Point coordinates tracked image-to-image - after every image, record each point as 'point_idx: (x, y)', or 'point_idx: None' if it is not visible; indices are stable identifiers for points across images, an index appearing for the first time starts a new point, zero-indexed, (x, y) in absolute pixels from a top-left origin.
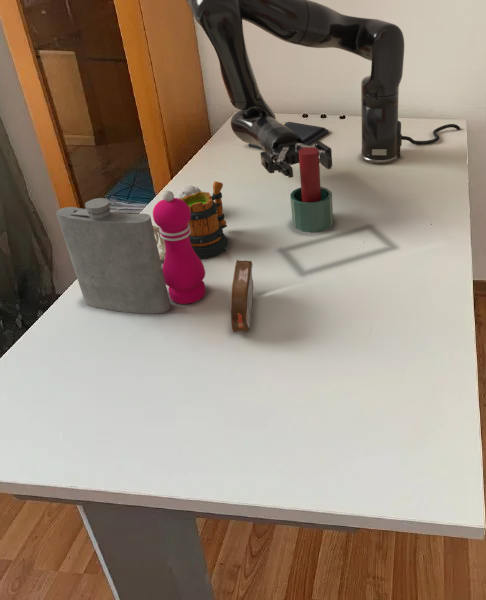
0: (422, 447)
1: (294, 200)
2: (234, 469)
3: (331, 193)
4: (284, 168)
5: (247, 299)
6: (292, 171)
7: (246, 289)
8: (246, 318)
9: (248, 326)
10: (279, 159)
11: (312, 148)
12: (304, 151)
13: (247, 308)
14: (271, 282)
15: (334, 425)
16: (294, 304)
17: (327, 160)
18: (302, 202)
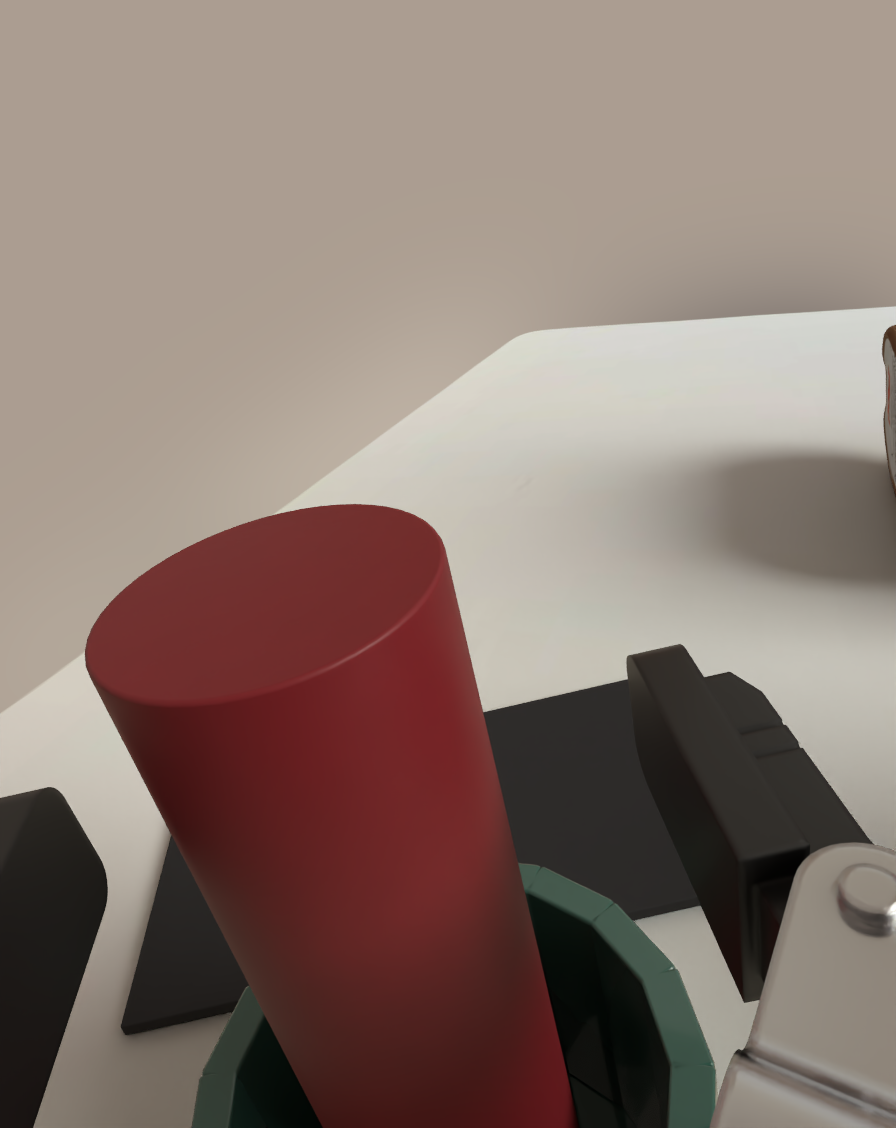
0: (542, 362)
1: (669, 973)
2: (843, 324)
3: (227, 1027)
4: (754, 703)
5: (883, 338)
6: (633, 689)
7: (891, 326)
8: (886, 386)
9: (890, 451)
10: (883, 895)
11: (149, 641)
12: (345, 566)
13: (892, 396)
14: (848, 644)
15: (668, 367)
16: (735, 550)
17: (46, 806)
18: (587, 905)
